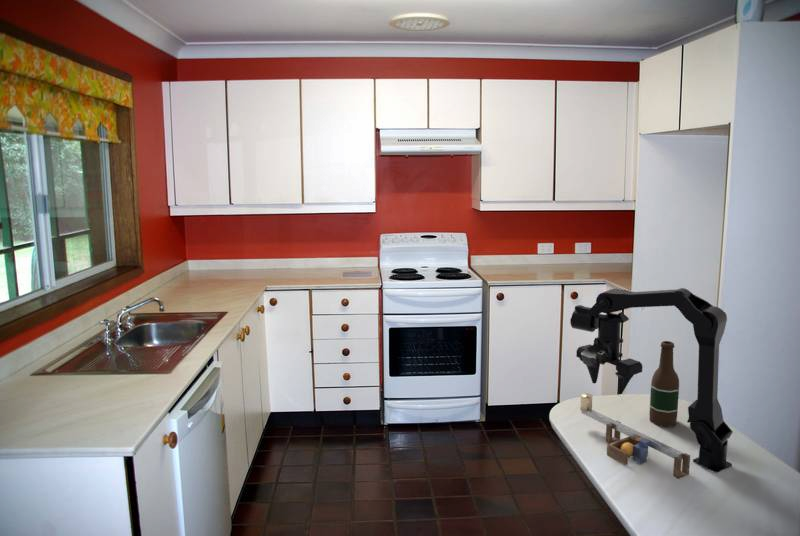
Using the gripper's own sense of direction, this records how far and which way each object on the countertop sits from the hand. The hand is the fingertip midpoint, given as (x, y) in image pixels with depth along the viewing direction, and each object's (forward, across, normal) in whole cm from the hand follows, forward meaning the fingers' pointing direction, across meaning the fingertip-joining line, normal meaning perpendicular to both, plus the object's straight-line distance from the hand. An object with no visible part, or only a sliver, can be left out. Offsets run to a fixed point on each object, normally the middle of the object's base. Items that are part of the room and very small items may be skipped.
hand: (606, 388), depth 165 cm
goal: (+12, +13, -6) cm, 19 cm away
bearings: (+12, +16, -3) cm, 20 cm away
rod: (+12, +10, -5) cm, 16 cm away
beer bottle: (+13, +5, +18) cm, 23 cm away
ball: (+11, +13, -6) cm, 18 cm away
